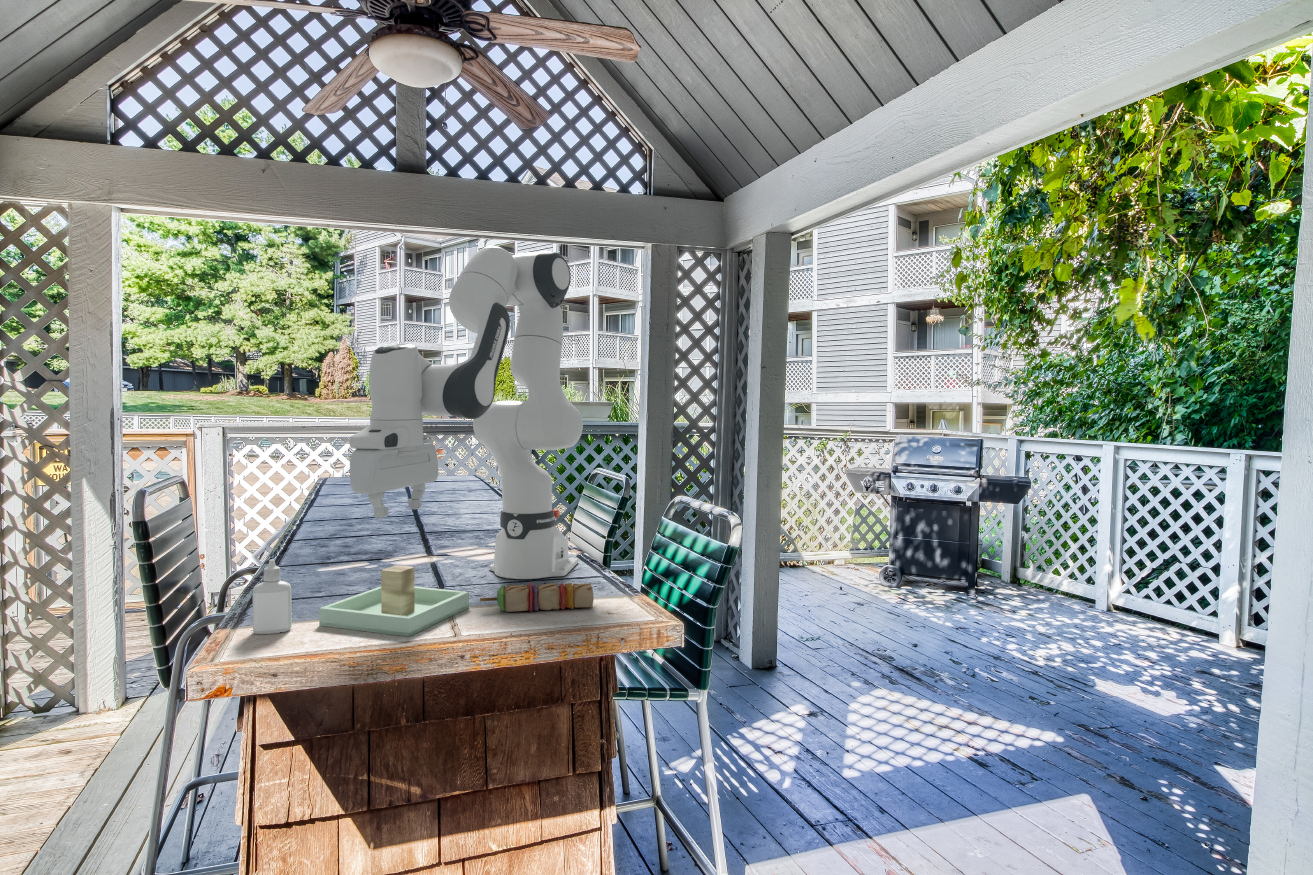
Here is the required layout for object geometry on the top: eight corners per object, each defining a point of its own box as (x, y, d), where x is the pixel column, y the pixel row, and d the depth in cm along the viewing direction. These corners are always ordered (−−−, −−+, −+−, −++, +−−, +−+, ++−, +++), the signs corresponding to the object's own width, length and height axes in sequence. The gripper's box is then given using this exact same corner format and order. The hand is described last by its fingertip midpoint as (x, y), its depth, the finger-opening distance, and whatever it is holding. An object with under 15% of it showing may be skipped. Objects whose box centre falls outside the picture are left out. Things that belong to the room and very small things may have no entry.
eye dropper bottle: (279, 636, 118) (278, 563, 117) (248, 634, 118) (247, 561, 118) (296, 628, 122) (295, 557, 121) (266, 626, 123) (265, 556, 122)
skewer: (590, 602, 140) (590, 577, 140) (594, 612, 134) (594, 585, 134) (480, 607, 136) (480, 581, 136) (479, 617, 130) (479, 589, 130)
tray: (388, 598, 141) (387, 583, 141) (468, 607, 135) (469, 591, 135) (319, 625, 124) (319, 608, 123) (409, 636, 118) (408, 618, 118)
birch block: (395, 608, 132) (395, 565, 132) (414, 610, 131) (414, 567, 130) (381, 614, 128) (381, 570, 128) (400, 616, 127) (400, 571, 127)
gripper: (417, 432, 139) (418, 503, 140) (341, 438, 119) (344, 521, 120) (446, 432, 137) (447, 504, 138) (373, 439, 117) (375, 523, 118)
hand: (398, 512), depth 129 cm, fingers open, 8 cm apart
